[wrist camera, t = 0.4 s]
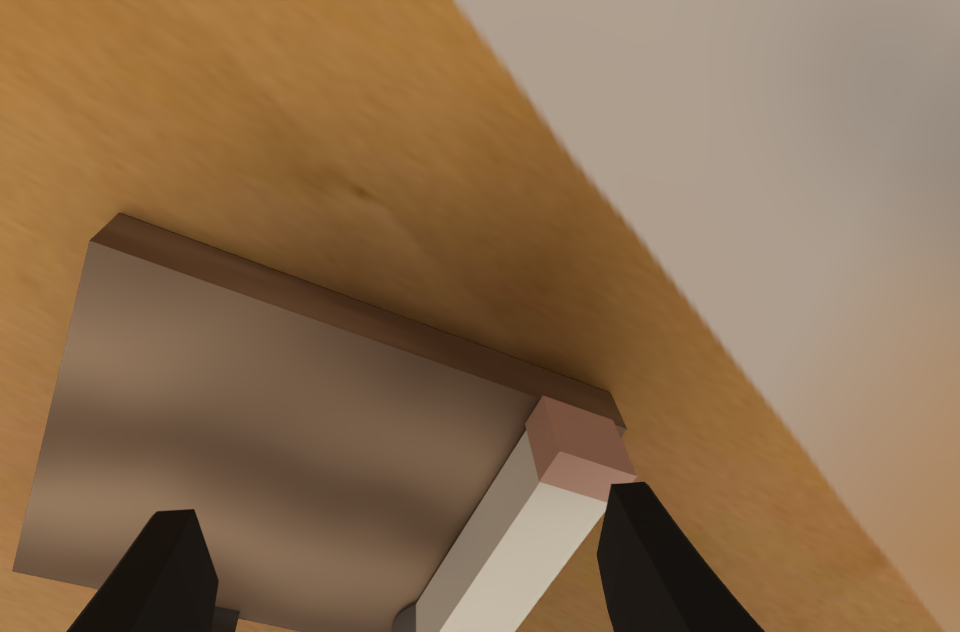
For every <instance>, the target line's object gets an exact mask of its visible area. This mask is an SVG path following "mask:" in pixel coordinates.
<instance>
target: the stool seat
mask: <svg viewBox="0 0 960 632" xmlns="http://www.w3.org/2000/svg"><path fill="white" fill-rule="evenodd" d="M542 396H546V397H549V398H552V399H555V400H557V401H560V402H563V403H566V404H569V405H572V406H574V407H577V408H580V409H583V410H586V411H589V412H591V413H594V414H597V415H600V416H603V417H606V418H608V419H611V420H613V421H614V424H615V426H616V428H617V430H618V433H619V435H620V437H622V435H623V434H624V432H625V431H626V430H627V428H626V426H625V424H624V421H623V419H622V417H621V415H620V413H619V410H618V408H617V406H616V404H615V402H614V399H613V397H612V395H611V393H609V392H606V391H604V390H601V389H598V388H595V387H593V386H590V385H587V384H585V383H582V382H579V381H576V380H574V379H571V378H568V377H565V376H563V375H560V374H557V373H555V372H552V371H549V370H546V369H544V368H541V367H538V366H535V365H533V364H530V363H527V362H525V361H522V360H519V359H516V358H514V357H511V356H508V355H505V354H503V353H500V352H497V351H494V350H492V349H489V348H486V347H484V346H481V345H478V344H475V343H473V342H470V341H467V340H464V339H462V338H459V337H456V336H454V335H451V334H448V333H445V332H443V331H440V330H437V329H434V328H432V327H429V326H426V325H424V324H421V323H418V322H415V321H413V320H410V319H407V318H404V317H402V316H399V315H396V314H393V313H391V312H388V311H385V310H383V309H380V308H377V307H374V306H372V305H369V304H366V303H363V302H361V301H358V300H355V299H353V298H350V297H347V296H344V295H342V294H339V293H336V292H333V291H331V290H328V289H325V288H323V287H320V286H317V285H314V284H312V283H309V282H306V281H303V280H301V279H298V278H295V277H293V276H290V275H287V274H284V273H282V272H279V271H276V270H273V269H271V268H268V267H265V266H262V265H260V264H257V263H254V262H252V261H249V260H246V259H243V258H241V257H238V256H235V255H232V254H230V253H227V252H224V251H222V250H219V249H216V248H213V247H211V246H208V245H205V244H202V243H200V242H197V241H194V240H192V239H189V238H186V237H183V236H181V235H178V234H175V233H172V232H170V231H167V230H164V229H162V228H159V227H156V226H153V225H151V224H148V223H145V222H142V221H140V220H137V219H134V218H131V217H129V216H126V215H123V214H121V213H119V214H118V215H116V216H115V217H114V218H113V219H112V220H111V221H110V222H109V223H108V224H107V225H106V226H105V227H104V228H103V229H101V230H100V231H99V232H98V233H97V234H96V235H95V236H94V237H93V238H92V239H91V240H90V241H89V245H88V249H87V254H86V258H85V262H84V266H83V271H82V275H81V279H80V283H79V288H78V292H77V296H76V301H75V305H74V309H73V313H72V318H71V322H70V326H69V330H68V335H67V339H66V343H65V348H64V352H63V356H62V360H61V365H60V369H59V373H58V378H57V382H56V386H55V390H54V395H53V399H52V403H51V407H50V412H49V416H48V420H47V425H46V429H45V433H44V437H43V442H42V446H41V450H40V455H39V459H38V463H37V467H36V472H35V476H34V480H33V484H32V489H31V493H30V497H29V502H28V506H27V510H26V514H25V519H24V523H23V527H22V531H21V536H20V540H19V544H18V549H17V553H16V557H15V561H14V566H13V570H12V571H13V572H18V573H23V574H28V575H32V576H37V577H42V578H47V579H52V580H56V581H61V582H66V583H71V584H76V585H80V586H85V587H90V588H95V589H100V587H101V586H102V585H103V583H104V582H105V580H106V579H107V578H108V576H109V575H110V574H111V572H112V571H113V570H114V568H115V567H116V566H117V564H118V563H119V561H120V560H121V559H122V557H123V556H124V554H125V553H126V552H127V550H128V549H129V547H130V546H131V545H132V543H133V542H134V540H135V539H136V538H137V536H138V535H139V533H140V532H141V531H142V529H143V528H144V526H145V525H146V523H147V522H148V521H149V519H150V518H151V516H152V515H153V514H154V513H156V512H157V511H168V510H185V509H195V512H196V515H197V518H198V521H199V524H200V527H201V530H202V533H203V536H204V539H205V542H206V545H207V548H208V551H209V554H210V557H211V559H212V562H213V565H214V568H215V571H216V574H217V577H218V580H219V583H218V590H217V596H216V603H215V610H214V616H213V622H212V628H211V632H235V629H236V625H237V621H238V618H239V619H244V620H249V621H253V622H258V623H263V624H268V625H273V626H277V627H282V628H287V629H292V630H297V631H301V632H392V625H393V622H394V620H395V619H396V617H397V616H398V615H399V614H400V613H401V612H403V611H404V610H405V609H407V608H409V607H411V606H413V605H416V603H417V602H418V600H419V599H420V597H421V595H422V594H423V592H424V591H425V589H426V588H427V586H428V584H429V583H430V581H431V580H432V578H433V576H434V575H435V573H436V572H437V570H438V569H439V567H440V565H441V564H442V562H443V561H444V559H445V557H446V556H447V554H448V553H449V551H450V550H451V548H452V546H453V545H454V543H455V542H456V540H457V539H458V537H459V535H460V534H461V532H462V531H463V529H464V527H465V526H466V524H467V523H468V521H469V520H470V518H471V516H472V515H473V513H474V512H475V510H476V509H477V507H478V505H479V504H480V502H481V501H482V499H483V497H484V496H485V494H486V493H487V491H488V490H489V488H490V486H491V485H492V483H493V482H494V480H495V478H496V477H497V475H498V474H499V472H500V471H501V469H502V467H503V466H504V464H505V463H506V461H507V460H508V458H509V456H510V455H511V453H512V452H513V450H514V448H515V447H516V445H517V444H518V442H519V441H520V439H521V437H522V436H523V434H524V433H525V431H526V426H525V423H526V421H527V420H528V418H529V417H530V415H531V413H532V412H533V410H534V409H535V407H536V406H537V404H538V402H539V401H540V399H541V398H542Z"/></svg>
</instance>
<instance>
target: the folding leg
mask: <svg viewBox="0 0 960 632" xmlns="http://www.w3.org/2000/svg"><path fill="white" fill-rule="evenodd" d="M525 426H526V431H525V433H524V434H523V436H522V437H521V439H520V441H519V442H518V444H517V445H516V447H515V448H514V450H513V452H512V453H511V455H510V456H509V458H508V460H507V461H506V463H505V464H504V466H503V467H502V469H501V471H500V472H499V474H498V475H497V477H496V478H495V480H494V482H493V483H492V485H491V486H490V488H489V490H488V491H487V493H486V494H485V496H484V497H483V499H482V501H481V502H480V504H479V505H478V507H477V509H476V510H475V512H474V513H473V515H472V516H471V518H470V520H469V521H468V523H467V524H466V526H465V527H464V529H463V531H462V532H461V534H460V535H459V537H458V539H457V540H456V542H455V543H454V545H453V546H452V548H451V550H450V551H449V553H448V554H447V556H446V557H445V559H444V561H443V562H442V564H441V565H440V567H439V569H438V570H437V572H436V573H435V575H434V576H433V578H432V580H431V581H430V583H429V584H428V586H427V588H426V589H425V591H424V592H423V594H422V595H421V597H420V599H419V600H418V602H417V603H416V605H413V606H411V607H409V608H407V609H405V610H404V611H403V612H401V613H400V614H399V615H398V616H397V617H396V619H395V620H394V622H393V625H392V632H515V631H516V629H517V628H518V627H519V625H520V624H521V623H522V621H523V620H524V619H525V617H526V616H527V615H528V613H529V612H530V611H531V609H532V608H533V607H534V605H535V604H536V603H537V601H538V600H539V599H540V597H541V596H542V595H543V593H544V592H545V591H546V589H547V588H548V587H549V585H550V584H551V583H552V581H553V580H554V579H555V577H556V576H557V575H558V573H559V572H560V571H561V569H562V568H563V567H564V565H565V564H566V563H567V561H568V560H569V559H570V557H571V556H572V555H573V553H574V552H575V551H576V549H577V548H578V547H579V545H580V544H581V543H582V541H583V540H584V539H585V537H586V536H587V535H588V533H589V532H590V531H591V529H592V528H593V527H594V525H595V524H596V523H597V521H598V520H599V519H600V517H601V516H602V515H603V513H604V512H605V511H606V507H607V502H608V497H609V492H610V487H611V484H618V483H633V482H634V480H635V479H636V478H637V474H636V472H635V470H634V467H633V465H632V463H631V461H630V458H629V456H628V454H627V451H626V449H625V447H624V444H623V442H622V440H621V437H620V435H619V433H618V430H617V428H616V426H615V424H614V421H613V420H611V419H608V418H606V417H603V416H600V415H597V414H594V413H591V412H589V411H586V410H583V409H580V408H577V407H574V406H572V405H569V404H566V403H563V402H560V401H557V400H555V399H552V398H549V397H546V396H542V398H541V399H540V401H539V402H538V404H537V406H536V407H535V409H534V410H533V412H532V413H531V415H530V417H529V418H528V420H527V421H526V423H525Z"/></svg>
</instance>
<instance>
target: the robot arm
mask: <svg viewBox="0 0 960 632" xmlns="http://www.w3.org/2000/svg"><path fill="white" fill-rule="evenodd" d="M597 559H598V564H599V569H600V574H601V579H602V585H603V590H604V594H605V599H606V604H607V609H608V613H609V616H610V619H611V623H612V626H613V629H614V632H765V631H764V630H763V629H762V628H761V627H760V626H759V625H758V624H757V622H756V621H755V620H754V619H753V618H752V617H751V616H750V615H749V613H748V612H747V611H746V610H745V609H744V608H743V606H742V605H741V604H740V603H739V602H738V601H737V599H736V598H735V597H734V596H733V595H732V594H731V592H730V591H729V590H728V589H727V587H726V586H725V585H724V584H723V583H722V581H721V580H720V579H719V578H718V576H717V575H716V574H715V573H714V572H713V570H712V569H711V568H710V567H709V566H708V564H707V563H706V562H705V561H704V559H703V558H702V557H701V555H700V554H699V553H698V552H697V550H696V549H695V548H694V546H693V545H692V544H691V543H690V541H689V540H688V539H687V537H686V536H685V535H684V533H683V532H682V531H681V529H680V528H679V527H678V525H677V524H676V523H675V521H674V520H673V519H672V517H671V516H670V515H669V513H668V512H667V510H666V509H665V508H664V506H663V505H662V503H661V502H660V501H659V499H658V498H657V496H656V495H655V494H654V492H653V491H652V489H651V488H650V487H649V486H648V485H647V484H646V483H645V482H634V483H618V484H611V487H610V492H609V497H608V502H607V507H606V512H605V517H604V521H603V526H602V531H601V536H600V541H599V546H598V551H597ZM218 583H219V580H218V577H217V574H216V571H215V568H214V565H213V562H212V559H211V557H210V554H209V551H208V548H207V545H206V542H205V539H204V536H203V533H202V530H201V527H200V524H199V521H198V518H197V515H196V512H195V509H185V510H168V511H157V512H156V513H154V514H153V515H152V516H151V518H150V519H149V521H148V522H147V523H146V525H145V526H144V528H143V529H142V531H141V532H140V533H139V535H138V536H137V538H136V539H135V540H134V542H133V543H132V545H131V546H130V547H129V549H128V550H127V552H126V553H125V554H124V556H123V557H122V559H121V560H120V561H119V563H118V564H117V566H116V567H115V568H114V570H113V571H112V572H111V574H110V575H109V576H108V578H107V579H106V580H105V582H104V583H103V585H102V586H101V587H100V589H99V590H98V591H97V593H96V594H95V595H94V597H93V598H92V599H91V600H90V602H89V603H88V604H87V606H86V607H85V608H84V610H83V611H82V612H81V613H80V615H79V616H78V617H77V619H76V620H75V621H74V622H73V624H72V625H71V626H70V628H69V629H68V630H67V632H211V628H212V622H213V616H214V610H215V603H216V596H217V590H218Z"/></svg>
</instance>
